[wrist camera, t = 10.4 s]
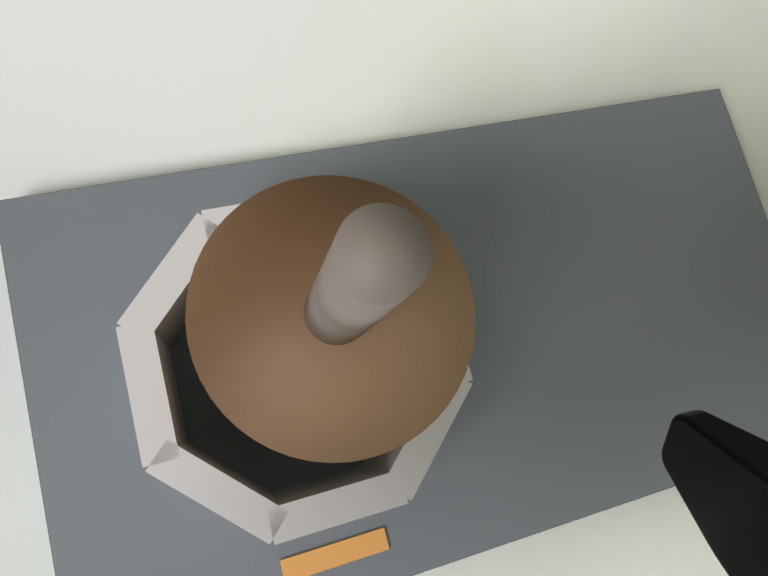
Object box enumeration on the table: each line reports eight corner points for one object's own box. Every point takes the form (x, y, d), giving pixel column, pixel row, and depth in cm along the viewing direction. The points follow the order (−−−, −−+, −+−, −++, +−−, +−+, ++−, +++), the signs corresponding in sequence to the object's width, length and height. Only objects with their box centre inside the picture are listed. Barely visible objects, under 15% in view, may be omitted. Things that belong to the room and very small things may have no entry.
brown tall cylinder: (394, 347, 20) (651, 203, 7) (315, 477, 18) (461, 573, 6) (271, 267, 19) (318, -26, 7) (182, 393, 18) (47, 310, 6)
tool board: (701, 101, 25) (794, 34, 21) (818, 428, 23) (948, 427, 19) (5, 212, 19) (-63, 149, 15) (83, 676, 17) (31, 758, 13)
